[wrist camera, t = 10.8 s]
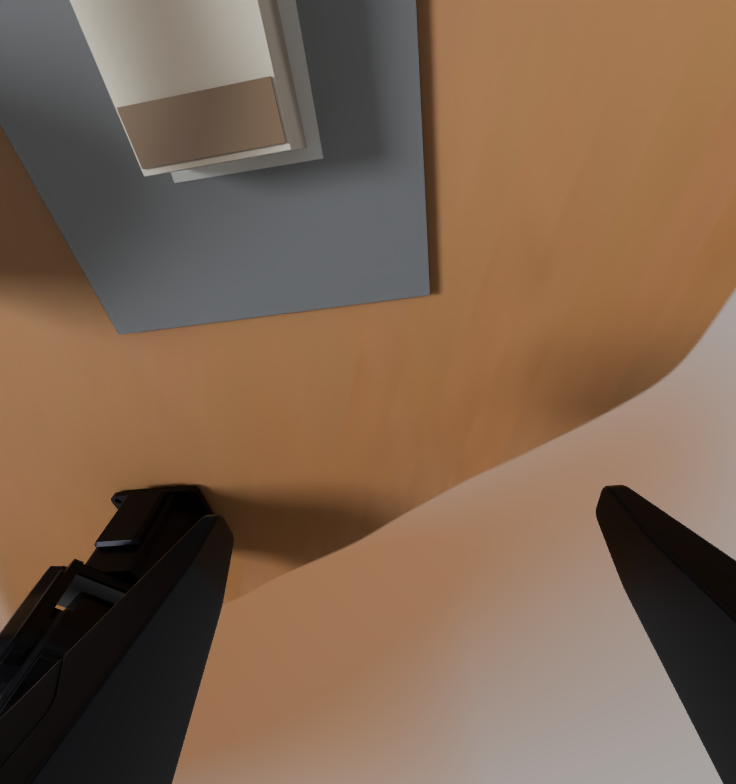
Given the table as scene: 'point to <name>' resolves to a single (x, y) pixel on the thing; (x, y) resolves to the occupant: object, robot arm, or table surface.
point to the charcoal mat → (233, 174)
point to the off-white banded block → (195, 78)
